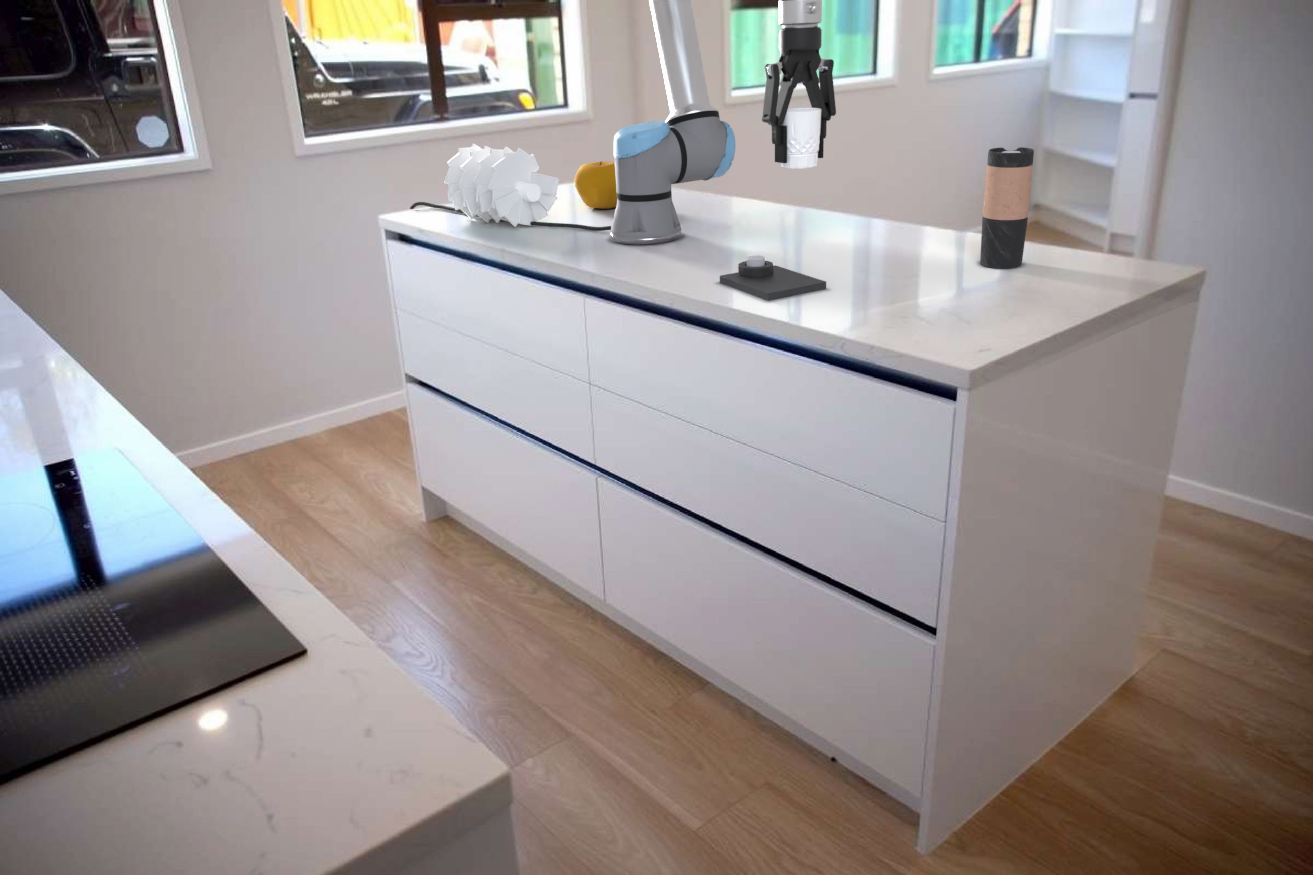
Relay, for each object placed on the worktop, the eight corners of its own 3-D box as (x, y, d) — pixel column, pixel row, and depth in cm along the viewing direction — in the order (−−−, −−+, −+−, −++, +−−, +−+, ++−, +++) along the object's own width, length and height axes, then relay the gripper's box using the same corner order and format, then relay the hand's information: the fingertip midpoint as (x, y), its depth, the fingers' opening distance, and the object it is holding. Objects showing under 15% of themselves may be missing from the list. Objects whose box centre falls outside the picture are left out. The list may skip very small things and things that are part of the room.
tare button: (743, 265, 177) (742, 257, 176) (758, 263, 178) (758, 254, 177) (753, 269, 174) (753, 260, 173) (768, 266, 175) (768, 257, 175)
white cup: (820, 169, 180) (820, 111, 176) (776, 170, 182) (776, 112, 178) (821, 162, 187) (822, 107, 183) (779, 163, 189) (779, 108, 185)
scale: (718, 282, 177) (717, 266, 176) (773, 272, 182) (773, 256, 181) (767, 301, 164) (767, 284, 163) (826, 289, 169) (826, 272, 168)
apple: (627, 212, 243) (624, 164, 238) (574, 214, 243) (570, 166, 239) (629, 202, 255) (627, 156, 250) (579, 204, 255) (575, 159, 250)
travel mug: (1000, 271, 175) (1011, 154, 167) (969, 263, 181) (978, 150, 173) (1032, 264, 178) (1044, 149, 170) (1000, 257, 185) (1010, 145, 177)
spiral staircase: (522, 248, 229) (458, 230, 245) (573, 204, 236) (508, 189, 252) (488, 180, 217) (424, 166, 233) (543, 136, 224) (477, 125, 240)
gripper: (764, 29, 168) (765, 168, 176) (859, 23, 177) (855, 155, 186) (739, 30, 174) (741, 164, 183) (832, 24, 183) (830, 152, 192)
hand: (799, 159), depth 184 cm, fingers closed on white cup, 8 cm apart
